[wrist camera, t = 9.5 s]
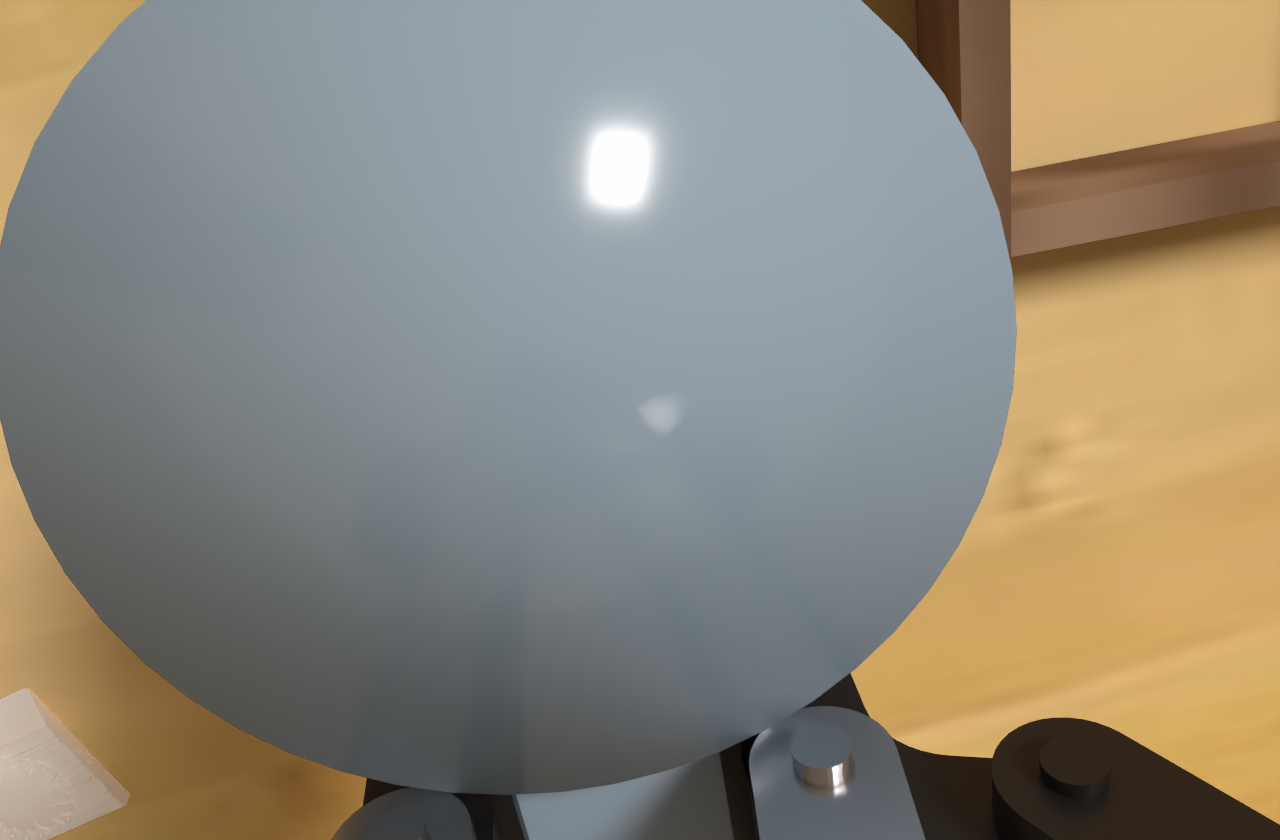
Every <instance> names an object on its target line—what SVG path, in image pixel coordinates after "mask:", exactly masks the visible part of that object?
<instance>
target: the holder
mask: <svg viewBox="0 0 1280 840" xmlns="http://www.w3.org/2000/svg"><path fill="white" fill-rule="evenodd" d="M916 7H917V31H918V56H919V62H920V63H921V65H922V66H923V67H924V68H925V70H926V71H927V72H928V74H929V75H930V76H931V77H932V79H933V80H934V81H935V83H936V84H937V85H938V86H939V88H940V89H941V90H942V92H943V93H944V94H945V96H946V98H947V100H948V102H949V103H950V105H951V107H952V109H953V110H954V112H955V114H956V116H957V118H958V119H959V121H960V123H961V125H962V127H963V128H964V130H965V132H966V134H967V135H968V137H969V139H970V141H971V143H972V144H973V146H974V148H975V150H976V152H977V154H978V157H979V159H980V162H981V165H982V167H983V170H984V173H985V175H986V178H987V180H988V183H989V186H990V188H991V191H992V194H993V196H994V199H995V201H996V204H997V207H998V209H999V213H1000V217H1001V222H1002V226H1003V231H1004V235H1005V240H1006V244H1007V249H1008V253H1009V258H1010V257H1015V256H1020V255H1026V254H1031V253H1036V252H1041V251H1046V250H1052V249H1057V248H1062V247H1067V246H1072V245H1078V244H1083V243H1088V242H1093V241H1098V240H1104V239H1109V238H1114V237H1119V236H1124V235H1130V234H1135V233H1140V232H1145V231H1150V230H1156V229H1161V228H1166V227H1171V226H1176V225H1182V224H1187V223H1192V222H1197V221H1202V220H1208V219H1213V218H1218V217H1223V216H1228V215H1234V214H1239V213H1244V212H1249V211H1254V210H1260V209H1265V208H1270V207H1275V206H1280V121H1277V122H1272V123H1266V124H1261V125H1256V126H1251V127H1245V128H1240V129H1235V130H1230V131H1224V132H1219V133H1214V134H1209V135H1203V136H1198V137H1193V138H1188V139H1182V140H1177V141H1172V142H1167V143H1161V144H1156V145H1151V146H1146V147H1141V148H1135V149H1130V150H1125V151H1120V152H1114V153H1109V154H1104V155H1099V156H1093V157H1088V158H1083V159H1078V160H1072V161H1067V162H1062V163H1057V164H1051V165H1046V166H1041V167H1036V168H1030V169H1025V170H1020V171H1015V172H1011V62H1010V0H916Z"/></svg>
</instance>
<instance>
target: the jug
mask: <svg viewBox="0 0 1280 840" xmlns="http://www.w3.org/2000/svg"><path fill="white" fill-rule="evenodd" d="M1016 334H1017V327H1016V313H1015V300H1014V286H1013V273H1012V267H1011V262H1010V258H1009V253H1008V249H1007V244H1006V240H1005V235H1004V231H1003V226H1002V222H1001V217H1000V213H999V209H998V207H997V204H996V201H995V199H994V196H993V194H992V191H991V188H990V186H989V183H988V180H987V178H986V175H985V173H984V170H983V167H982V165H981V162H980V159H979V157H978V154H977V152H976V150H975V148H974V146H973V144H972V143H971V141H970V139H969V137H968V135H967V134H966V132H965V130H964V128H963V127H962V125H961V123H960V121H959V119H958V118H957V116H956V114H955V112H954V110H953V109H952V107H951V105H950V103H949V102H948V100H947V98H946V96H945V94H944V93H943V92H942V90H941V89H940V88H939V86H938V85H937V84H936V83H935V81H934V80H933V79H932V77H931V76H930V75H929V74H928V72H927V71H926V70H925V68H924V67H923V66H922V65H921V63H920V62H919V61H918V59H917V58H916V57H915V56H914V54H913V53H912V52H911V50H910V49H909V48H908V46H907V45H906V44H905V43H904V41H903V40H902V39H901V38H900V37H899V36H898V35H897V34H896V33H895V32H894V31H893V30H892V29H891V28H890V27H889V26H888V25H886V24H885V23H884V22H883V21H882V20H881V19H880V18H879V17H878V16H877V15H876V14H875V13H874V12H873V11H872V10H871V9H870V8H869V7H868V6H867V5H866V4H865V3H864V2H862V1H861V0H147V1H145V2H144V3H143V4H142V5H141V6H140V7H138V8H137V9H136V10H135V11H134V12H133V13H131V14H130V15H129V16H128V17H127V18H126V19H125V20H123V21H122V22H121V23H120V24H119V25H118V27H117V28H116V29H115V30H114V31H113V33H112V34H111V35H110V36H109V37H108V38H107V40H106V41H105V42H104V43H103V44H102V46H101V47H100V48H99V49H98V50H97V51H96V53H95V54H94V55H93V56H92V57H91V59H90V60H89V61H88V62H87V63H86V64H85V66H84V67H83V68H82V69H81V70H80V72H79V73H78V74H77V75H76V76H75V77H74V79H73V80H72V81H71V83H70V85H69V86H68V88H67V90H66V91H65V93H64V95H63V96H62V98H61V100H60V101H59V103H58V105H57V106H56V108H55V110H54V111H53V113H52V115H51V116H50V118H49V120H48V121H47V123H46V125H45V126H44V128H43V130H42V131H41V133H40V135H39V136H38V138H37V140H36V141H35V143H34V146H33V148H32V151H31V153H30V156H29V158H28V161H27V163H26V166H25V168H24V171H23V173H22V176H21V178H20V181H19V183H18V186H17V188H16V191H15V193H14V196H13V198H12V201H11V203H10V206H9V209H8V214H7V218H6V223H5V227H4V232H3V236H2V240H1V245H0V420H1V424H2V428H3V432H4V436H5V440H6V444H7V448H8V452H9V456H10V460H11V464H12V467H13V469H14V472H15V474H16V476H17V479H18V481H19V484H20V486H21V489H22V491H23V493H24V496H25V498H26V501H27V503H28V506H29V508H30V510H31V513H32V515H33V518H34V520H35V522H36V524H37V526H38V527H39V529H40V531H41V532H42V534H43V536H44V538H45V539H46V541H47V543H48V544H49V546H50V548H51V550H52V551H53V553H54V555H55V556H56V558H57V560H58V562H59V563H60V565H61V567H62V568H63V570H64V572H65V574H66V575H67V576H68V577H69V579H70V580H71V581H72V583H73V584H74V585H75V586H76V588H77V589H78V590H79V592H80V593H81V594H82V595H83V597H84V598H85V599H86V601H87V602H88V603H89V604H90V606H91V607H92V608H93V610H94V611H95V612H96V614H97V615H98V616H99V617H100V619H101V620H102V621H103V622H104V623H105V624H106V625H107V626H108V627H109V628H110V629H111V630H112V631H113V632H114V633H115V634H116V635H117V636H118V637H119V638H120V639H121V640H122V641H123V642H124V643H125V644H126V645H127V646H128V647H129V648H130V649H131V650H132V651H133V652H134V653H135V654H136V655H137V656H138V657H139V658H140V659H141V660H142V661H143V662H144V663H145V664H146V665H148V666H149V667H150V668H151V669H153V670H154V671H155V672H157V673H158V674H159V675H160V676H162V677H163V678H164V679H165V680H167V681H168V682H169V683H171V684H172V685H173V686H174V687H176V688H177V689H178V690H179V691H181V692H182V693H183V694H185V695H186V696H187V697H188V698H190V699H191V700H193V701H195V702H196V703H198V704H199V705H201V706H203V707H204V708H206V709H207V710H209V711H211V712H212V713H214V714H216V715H217V716H219V717H220V718H222V719H224V720H225V721H227V722H229V723H230V724H232V725H233V726H235V727H237V728H238V729H240V730H242V731H244V732H247V733H249V734H251V735H253V736H255V737H257V738H259V739H261V740H263V741H265V742H268V743H270V744H272V745H274V746H276V747H278V748H280V749H282V750H284V751H286V752H289V753H291V754H294V755H297V756H299V757H302V758H305V759H308V760H311V761H314V762H316V763H319V764H322V765H325V766H328V767H331V768H333V769H336V770H339V771H342V772H345V773H350V774H354V775H358V776H362V777H366V778H370V779H374V780H378V781H383V782H387V783H391V784H395V785H400V786H407V787H415V788H422V789H429V790H436V791H443V792H450V793H470V794H494V795H516V796H517V800H518V803H519V806H520V810H521V813H522V816H523V820H524V823H525V827H526V830H527V833H528V837H529V840H734V836H733V830H732V824H731V818H730V813H729V807H728V801H727V795H726V790H725V784H724V778H723V772H722V766H721V761H720V755H719V752H720V751H722V750H724V749H727V748H729V747H731V746H733V745H735V744H737V743H739V742H741V741H743V740H745V739H748V738H750V737H752V736H754V735H756V734H758V733H760V732H762V731H764V730H766V729H768V728H770V727H771V726H773V725H775V724H776V723H778V722H780V721H781V720H783V719H785V718H786V717H788V716H790V715H791V714H793V713H794V712H796V711H798V710H799V709H801V708H803V707H804V706H806V705H808V704H809V703H811V702H813V701H814V700H815V699H816V698H818V697H819V696H820V695H822V694H823V693H824V692H826V691H827V690H828V689H830V688H831V687H832V686H834V685H835V684H836V683H838V682H839V681H840V680H841V679H843V678H844V677H845V676H847V675H848V674H849V673H851V672H852V671H853V670H855V669H856V668H857V667H858V666H859V665H860V664H861V663H862V662H863V661H864V660H865V659H866V658H867V657H868V656H869V655H870V654H872V653H873V652H874V651H875V650H876V649H877V648H878V647H879V646H880V645H881V644H882V643H883V642H884V641H885V640H886V639H887V638H888V637H889V636H891V635H892V634H893V633H894V632H895V630H896V629H897V628H898V627H899V626H900V625H901V623H902V622H903V621H904V620H905V619H906V617H907V616H908V615H909V614H910V613H911V611H912V610H913V609H914V608H915V607H916V605H917V604H918V603H919V602H920V601H921V600H922V598H923V597H924V596H925V595H926V594H927V592H928V591H929V590H930V588H931V587H932V585H933V584H934V582H935V581H936V579H937V578H938V576H939V575H940V573H941V572H942V570H943V569H944V567H945V566H946V564H947V563H948V561H949V559H950V558H951V556H952V555H953V553H954V552H955V550H956V549H957V547H958V546H959V544H960V542H961V540H962V538H963V536H964V534H965V532H966V530H967V528H968V526H969V524H970V522H971V520H972V518H973V516H974V514H975V512H976V510H977V508H978V506H979V504H980V502H981V500H982V498H983V495H984V493H985V490H986V487H987V484H988V481H989V478H990V475H991V472H992V470H993V467H994V464H995V461H996V458H997V455H998V452H999V449H1000V446H1001V444H1002V439H1003V434H1004V429H1005V424H1006V419H1007V414H1008V410H1009V405H1010V400H1011V395H1012V390H1013V379H1014V364H1015V349H1016Z"/></svg>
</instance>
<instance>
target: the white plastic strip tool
mask: <svg viewBox="0 0 1280 840" xmlns="http://www.w3.org/2000/svg"><path fill="white" fill-rule="evenodd" d="M130 795H131V794H130V793H129V792H128V791H127V790H126V789H124V788H123V786H122V785H121V784H120V783H119V782H118V781H117V780H116V779H115V778H114V777H113V776H112V775H111V774H110V773H109V772H108V771H107V769H106V768H105V767H104V766H103V765H102V764H101V763H100V762H99V761H98V760H97V759H96V758H95V757H94V756H93V755H92V754H91V753H89V751H88V750H87V749H86V748H85V747H84V746H83V745H82V744H81V742H80V741H79V740H78V739H77V738H76V737H75V736H74V735H73V734H72V733H71V732H70V731H69V730H68V729H67V728H66V727H65V726H64V725H63V724H62V723H61V722H60V721H59V720H58V719H57V718H56V716H55V715H54V714H53V713H52V712H51V711H50V710H49V709H48V708H47V707H46V706H45V705H44V704H43V703H42V702H41V701H40V700H39V699H38V698H37V697H36V696H35V695H34V694H33V693H32V692H31V691H30V690H29V689H28V687H26V688H23V689H21V690H19V691H17V692H14V693H12V694H10V695H8V696H6V697H3V698H1V699H0V840H49V839H51V838H54V837H56V836H58V835H60V834H63V833H65V832H67V831H69V830H72V829H74V828H76V827H79V826H81V825H83V824H85V823H88V822H90V821H92V820H95V819H97V818H99V817H101V816H104V815H106V814H108V813H111V812H113V811H115V810H117V809H120V808H122V807H124V806H126V805H127V803H128V800H129V798H130Z"/></svg>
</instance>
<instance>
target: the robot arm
mask: <svg viewBox="0 0 1280 840" xmlns="http://www.w3.org/2000/svg"><path fill="white" fill-rule="evenodd" d="M719 755H720V761H721V766H722V772H723V778H724V784H725V790H726V795H727V801H728V807H729V813H730V818H731V824H732V830H733V836H734V840H1280V825H1279V824H1277V823H1276V822H1274V821H1272V820H1270V819H1269V818H1267V817H1265V816H1264V815H1262V814H1260V813H1258V812H1257V811H1255V810H1253V809H1251V808H1250V807H1248V806H1246V805H1245V804H1243V803H1241V802H1239V801H1238V800H1236V799H1234V798H1232V797H1231V796H1229V795H1227V794H1226V793H1224V792H1222V791H1220V790H1219V789H1217V788H1215V787H1213V786H1212V785H1210V784H1208V783H1206V782H1205V781H1203V780H1201V779H1200V778H1198V777H1196V776H1194V775H1193V774H1191V773H1189V772H1187V771H1186V770H1184V769H1182V768H1181V767H1179V766H1177V765H1175V764H1174V763H1172V762H1170V761H1168V760H1167V759H1165V758H1163V757H1162V756H1160V755H1158V754H1156V753H1155V752H1153V751H1151V750H1149V749H1148V748H1146V747H1144V746H1143V745H1141V744H1139V743H1137V742H1136V741H1134V740H1132V739H1130V738H1129V737H1127V736H1125V735H1124V734H1122V733H1120V732H1118V731H1116V730H1114V729H1112V728H1110V727H1107V726H1104V725H1101V724H1099V723H1096V722H1091V721H1087V720H1083V719H1075V718H1049V719H1041V720H1037V721H1033V722H1030V723H1027V724H1025V725H1022V726H1020V727H1018V728H1017V729H1015V730H1013V731H1012V732H1010V733H1009V734H1008V735H1007V736H1006V737H1005V738H1004V739H1003V740H1002V741H1001V742H1000V744H999V745H998V746H997V748H996V750H995V753H994V755H993V758H979V757H963V756H948V755H939V754H933V753H929V752H924V751H920V750H918V749H915V748H912V747H909V746H907V745H905V744H903V743H901V742H899V741H897V740H895V739H893V738H892V737H891V736H890V735H889V733H888V732H887V731H886V730H885V729H884V728H883V727H882V726H881V725H880V724H879V723H878V722H876V721H875V720H873V719H872V718H870V716H869V715H868V713H867V711H866V709H865V707H864V705H863V702H862V700H861V697H860V695H859V693H858V690H857V688H856V685H855V683H854V681H853V678H852V676H851V674H850V673H849V674H848V675H847V676H845V677H844V678H843V679H841V680H840V681H839V682H838V683H836V684H835V685H834V686H832V687H831V688H830V689H828V690H827V691H826V692H824V693H823V694H822V695H820V696H819V697H818V698H816V699H815V700H814V701H813V702H811V703H809V704H808V705H806V706H804V707H803V708H801V709H799V710H798V711H796V712H794V713H793V714H791V715H790V716H788V717H786V718H785V719H783V720H781V721H780V722H778V723H776V724H775V725H773V726H771V727H770V728H768V729H766V730H764V731H762V732H760V733H758V734H756V735H754V736H752V737H750V738H748V739H745V740H743V741H741V742H739V743H737V744H735V745H733V746H731V747H729V748H727V749H724V750H722V751H720V752H719ZM332 840H529V837H528V833H527V830H526V827H525V823H524V820H523V816H522V813H521V810H520V806H519V803H518V800H517V796H516V795H494V794H470V793H450V792H443V791H436V790H429V789H422V788H415V787H407V786H400V785H395V784H391V783H387V782H383V781H378V780H374V779H370V778H367V781H366V788H365V795H364V802H363V807H361V808H360V809H359V810H357V811H356V812H355V813H353V814H352V815H351V816H350V817H349V818H348V819H347V820H346V821H345V822H344V823H343V824H342V826H341V827H340V828H339V829H338V831H337V832H336V833H335V835H334V837H333V839H332Z"/></svg>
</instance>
